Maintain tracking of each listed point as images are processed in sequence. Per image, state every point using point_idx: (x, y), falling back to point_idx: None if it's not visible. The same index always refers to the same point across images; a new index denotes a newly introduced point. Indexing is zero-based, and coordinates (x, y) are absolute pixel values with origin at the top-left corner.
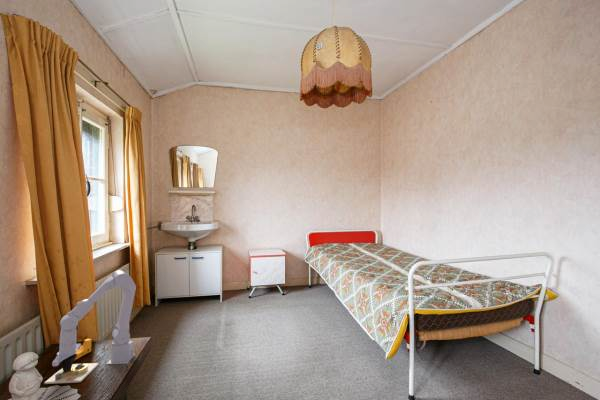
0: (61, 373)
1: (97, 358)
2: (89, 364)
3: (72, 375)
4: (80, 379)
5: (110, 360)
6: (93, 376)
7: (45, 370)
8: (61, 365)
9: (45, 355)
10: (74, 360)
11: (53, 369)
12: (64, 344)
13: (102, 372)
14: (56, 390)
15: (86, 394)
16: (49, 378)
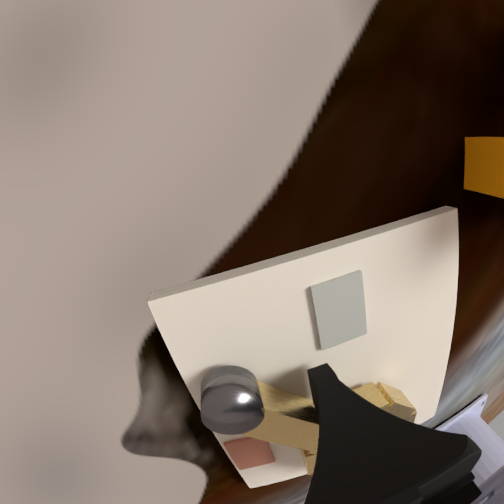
0: (254, 423)
1: (491, 333)
2: (432, 387)
3: None
4: (258, 483)
5: (445, 429)
6: (310, 480)
7: (362, 53)
8: (318, 443)
9: None
10: (495, 196)
11: (392, 119)
12: None
13: None
14: (135, 439)
15: None
16: (213, 288)
